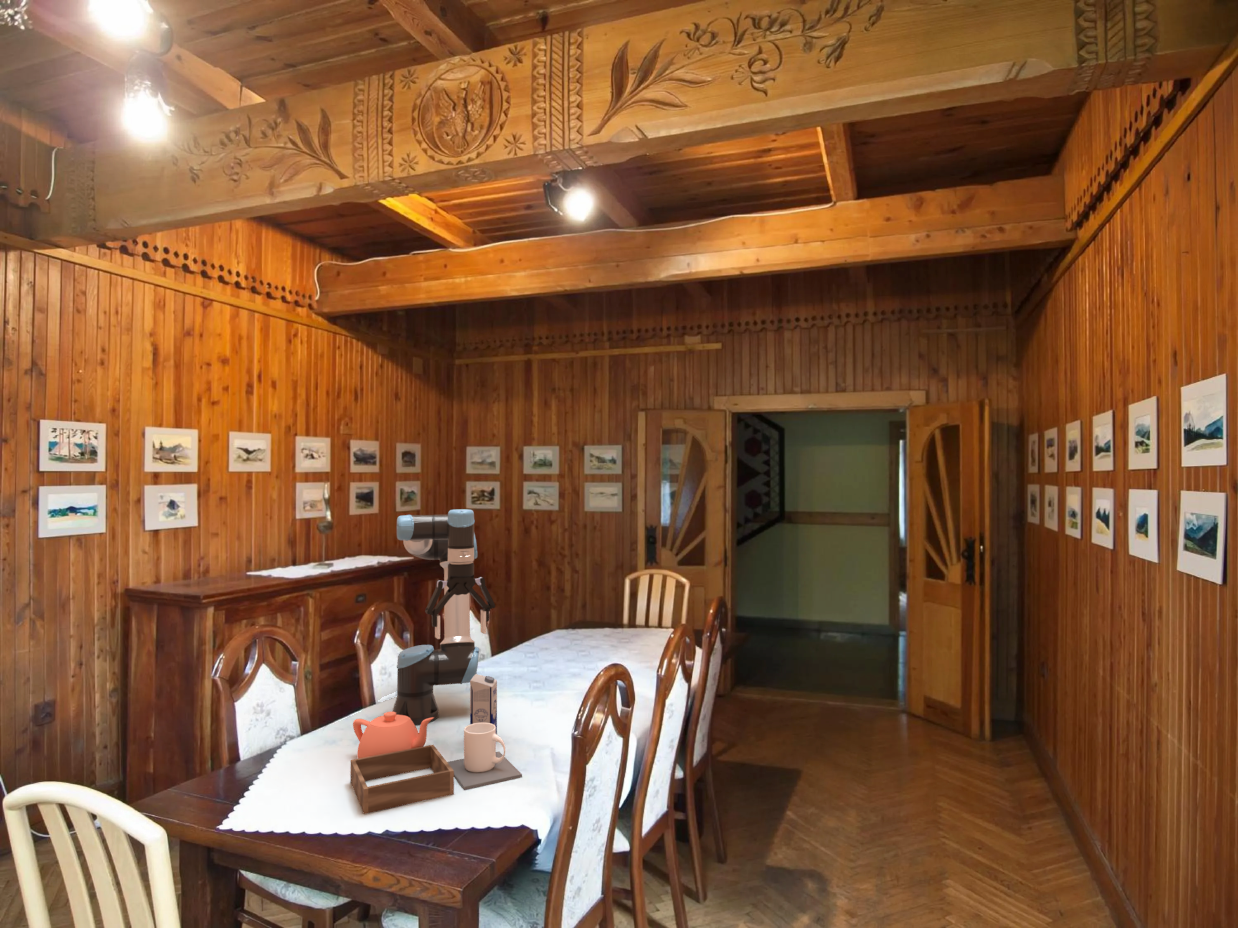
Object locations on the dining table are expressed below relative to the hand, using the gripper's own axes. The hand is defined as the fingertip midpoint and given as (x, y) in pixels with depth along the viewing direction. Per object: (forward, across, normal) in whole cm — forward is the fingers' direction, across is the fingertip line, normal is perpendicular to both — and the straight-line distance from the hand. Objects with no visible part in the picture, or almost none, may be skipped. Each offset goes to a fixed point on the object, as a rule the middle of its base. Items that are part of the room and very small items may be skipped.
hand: (460, 635), depth 209 cm
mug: (+34, +3, -14) cm, 37 cm away
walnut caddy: (+35, -20, -14) cm, 42 cm away
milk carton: (+35, +9, +6) cm, 37 cm away
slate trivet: (+35, +2, -14) cm, 37 cm away
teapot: (+35, -18, +6) cm, 40 cm away
